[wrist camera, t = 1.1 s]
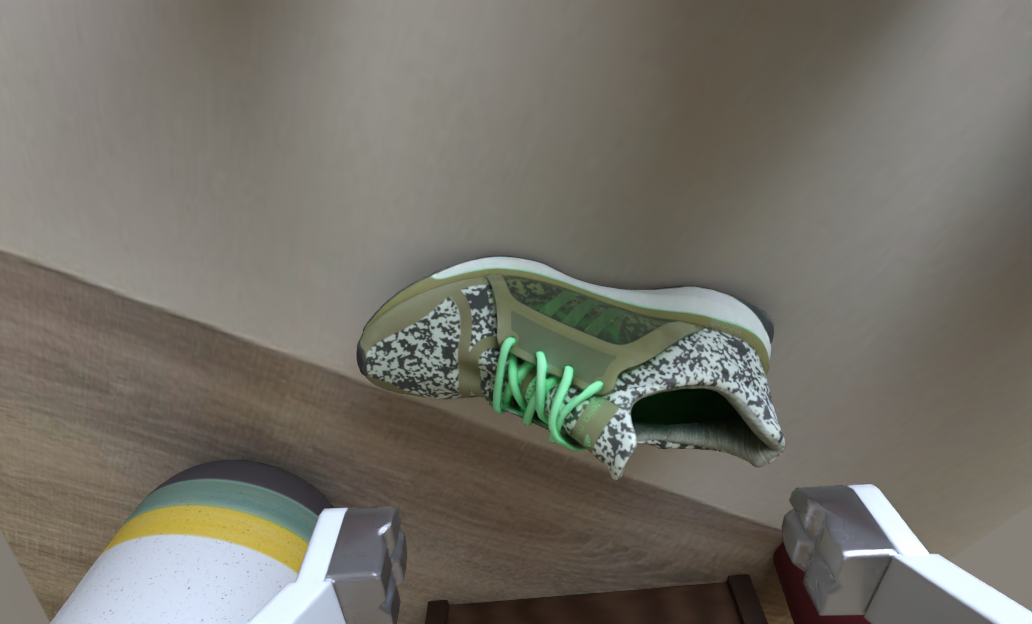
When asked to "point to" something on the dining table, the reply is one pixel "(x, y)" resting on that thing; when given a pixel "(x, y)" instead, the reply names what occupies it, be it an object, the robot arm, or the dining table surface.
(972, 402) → the dining table surface
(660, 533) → the dining table surface
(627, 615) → the rail
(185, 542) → the vase
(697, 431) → the running shoe
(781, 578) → the mug
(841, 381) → the dining table surface
